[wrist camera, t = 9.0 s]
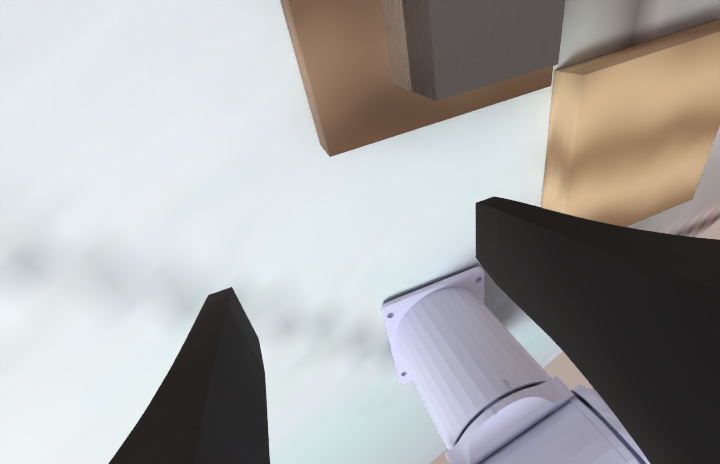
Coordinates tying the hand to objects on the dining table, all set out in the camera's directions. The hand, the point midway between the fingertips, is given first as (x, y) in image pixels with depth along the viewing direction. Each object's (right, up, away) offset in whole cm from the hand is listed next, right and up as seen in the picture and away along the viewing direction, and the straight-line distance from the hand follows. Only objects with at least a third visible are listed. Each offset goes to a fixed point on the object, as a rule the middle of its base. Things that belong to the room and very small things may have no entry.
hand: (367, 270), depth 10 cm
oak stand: (+18, +7, +14) cm, 24 cm away
